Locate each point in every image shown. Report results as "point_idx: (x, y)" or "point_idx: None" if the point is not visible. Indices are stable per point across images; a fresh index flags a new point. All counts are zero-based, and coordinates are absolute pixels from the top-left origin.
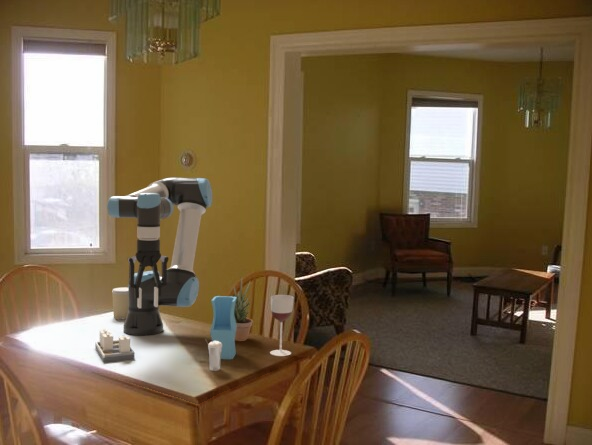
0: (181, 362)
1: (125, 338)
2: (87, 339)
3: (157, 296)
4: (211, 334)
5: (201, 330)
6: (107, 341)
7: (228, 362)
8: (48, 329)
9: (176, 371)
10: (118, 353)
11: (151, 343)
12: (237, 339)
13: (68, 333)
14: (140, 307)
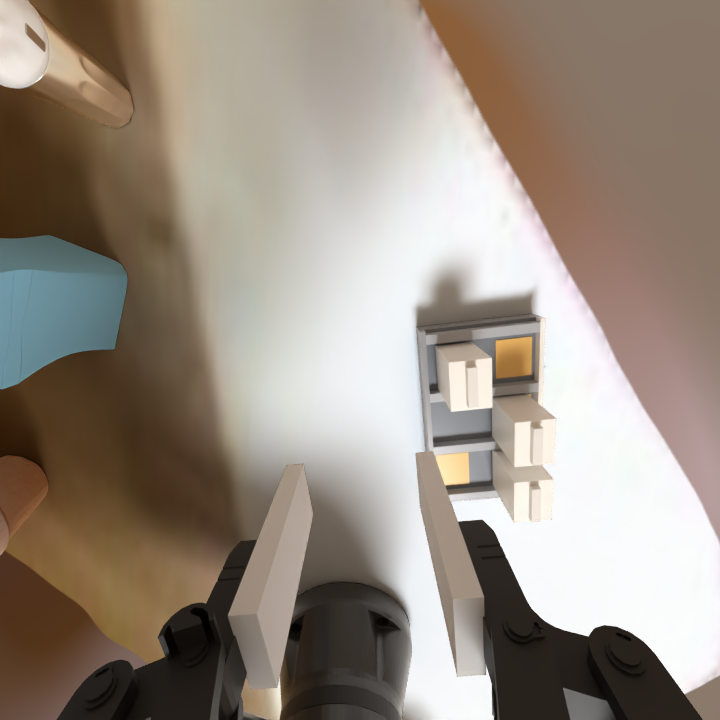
0: (245, 241)
1: (470, 366)
2: (534, 579)
3: (267, 529)
4: (34, 267)
5: (156, 596)
6: (530, 410)
7: (55, 193)
8: None
9: (273, 118)
10: (484, 332)
11: (334, 496)
12: (20, 460)
13: None
14: (423, 455)
